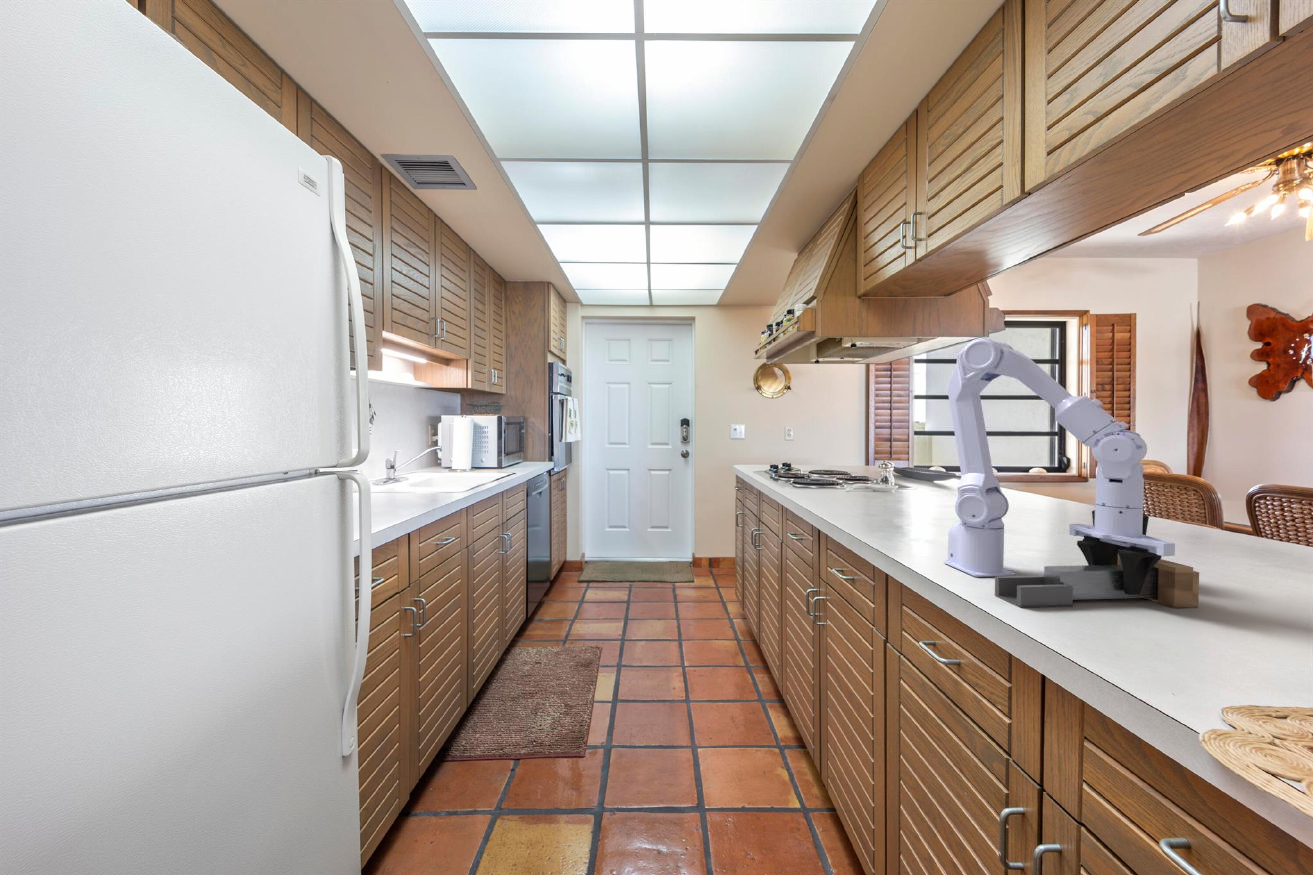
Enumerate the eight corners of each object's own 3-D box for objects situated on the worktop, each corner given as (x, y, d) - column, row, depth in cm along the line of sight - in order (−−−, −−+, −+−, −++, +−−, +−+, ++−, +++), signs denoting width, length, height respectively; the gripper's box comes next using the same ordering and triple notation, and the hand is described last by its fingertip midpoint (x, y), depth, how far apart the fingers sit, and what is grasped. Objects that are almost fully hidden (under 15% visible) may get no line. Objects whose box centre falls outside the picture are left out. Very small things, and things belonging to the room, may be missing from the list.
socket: (1116, 588, 86) (1117, 552, 86) (1138, 588, 87) (1139, 552, 87) (1174, 608, 77) (1175, 567, 77) (1198, 607, 78) (1199, 567, 78)
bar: (1043, 593, 82) (1044, 565, 82) (1145, 591, 84) (1146, 563, 83) (1059, 600, 79) (1060, 571, 79) (1165, 597, 81) (1166, 569, 80)
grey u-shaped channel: (994, 595, 83) (995, 576, 83) (1043, 594, 84) (1043, 575, 83) (1020, 607, 78) (1021, 587, 78) (1072, 606, 78) (1072, 585, 78)
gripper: (1055, 499, 88) (1053, 576, 88) (1147, 514, 73) (1145, 606, 74) (1089, 498, 89) (1087, 574, 89) (1187, 513, 74) (1184, 603, 75)
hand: (1116, 588), depth 82 cm, fingers open, 4 cm apart
